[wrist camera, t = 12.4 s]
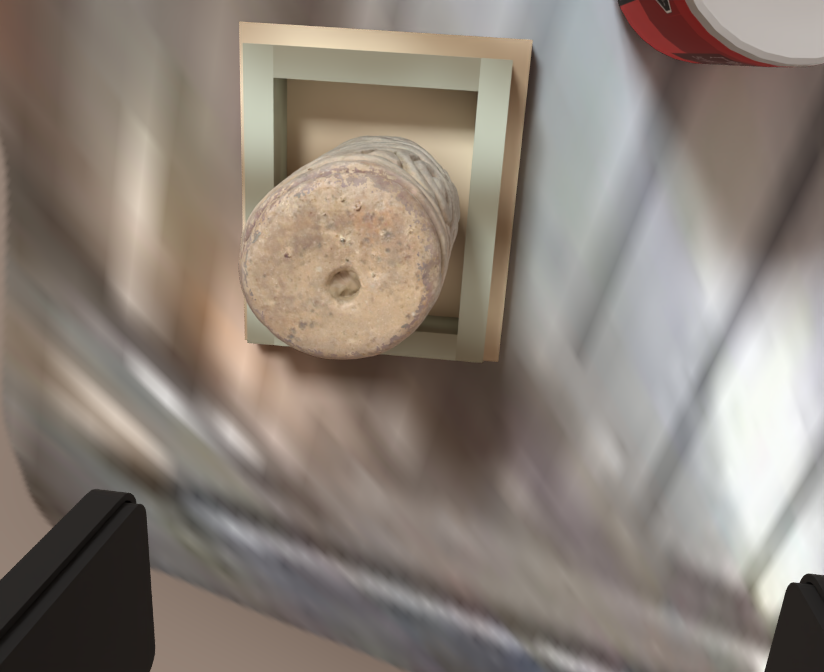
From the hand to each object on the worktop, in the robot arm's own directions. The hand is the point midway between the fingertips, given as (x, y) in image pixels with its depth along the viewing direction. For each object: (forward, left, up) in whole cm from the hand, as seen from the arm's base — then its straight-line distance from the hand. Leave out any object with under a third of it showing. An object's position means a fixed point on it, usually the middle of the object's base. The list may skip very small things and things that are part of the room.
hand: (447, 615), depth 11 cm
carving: (+1, +4, -24) cm, 25 cm away
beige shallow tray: (+1, +4, -25) cm, 26 cm away
